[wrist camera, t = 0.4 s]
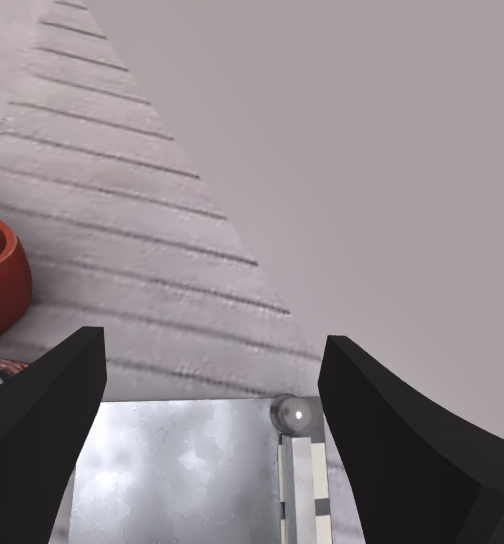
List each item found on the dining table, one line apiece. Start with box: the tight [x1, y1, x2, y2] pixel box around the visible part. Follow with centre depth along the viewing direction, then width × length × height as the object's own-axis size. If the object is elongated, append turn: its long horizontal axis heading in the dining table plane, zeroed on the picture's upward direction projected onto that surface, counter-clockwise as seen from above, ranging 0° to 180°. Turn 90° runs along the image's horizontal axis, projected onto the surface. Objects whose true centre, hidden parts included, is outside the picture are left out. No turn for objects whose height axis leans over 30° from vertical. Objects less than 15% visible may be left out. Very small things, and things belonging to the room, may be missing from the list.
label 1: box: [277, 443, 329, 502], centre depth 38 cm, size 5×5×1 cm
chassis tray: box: [68, 397, 333, 544], centre depth 36 cm, size 17×24×1 cm
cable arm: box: [282, 434, 317, 544], centre depth 34 cm, size 14×3×4 cm, turn 1°
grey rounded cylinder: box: [270, 394, 317, 433], centre depth 37 cm, size 4×4×4 cm
